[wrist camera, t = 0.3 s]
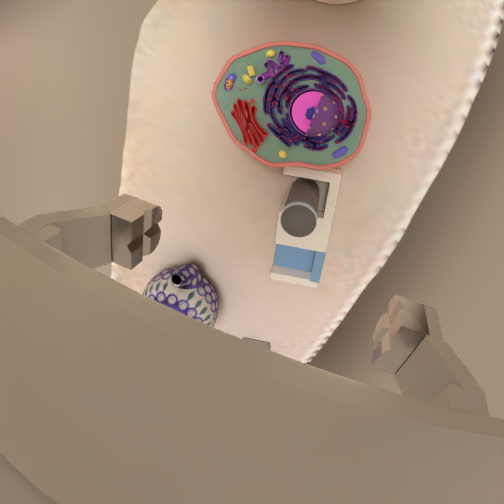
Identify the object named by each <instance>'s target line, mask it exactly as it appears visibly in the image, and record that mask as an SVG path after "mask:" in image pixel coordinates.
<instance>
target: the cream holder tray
mask: <svg viewBox="0 0 504 504" xmlns="http://www.w3.org/2000/svg"><path fill="white" fill-rule="evenodd" d="M283 174H284V175H290V176H296V177H302V178H308V179H313V180H319V181H324V182H329V187H328V193H327V198H326V203H325V208H324V212H321V211H317V225H316V228H315V230H314V231H313V232H312V233H311V234H309V235H308V236H305V237H294V236H291V235H289V234H288V233H287V232H285V230H284V229H283V228H282V226H281V222H280V217H281V214H282V211H283V209H284V207H285V205H283V204H281V206H280V209H279V214H278V222H277V230H276V237H275V243H276V244H277V245H276V252H275V260H274V264H273V267H272V270H271V275H270V279H272V280H277V281H282V282H287V283H292V284H298V285H303V286H308V287H313V288H317V286H318V283H319V279H320V275H321V271H322V267H323V262H324V258H325V253H326V249H327V244H328V240H329V236H330V231H331V226H332V222H333V217H334V213H335V208H336V203H337V198H338V193H339V188H340V183H341V178H342V170H339V169H333V168H331V169H323V170H320V169H312V168H307V167H302V166H289V167H284V173H283ZM315 251H316V253H315ZM314 255H315V257H314ZM313 259H314V262H313ZM312 264H313V266H312ZM311 269H312V271H311Z"/></svg>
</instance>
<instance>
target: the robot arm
mask: <svg viewBox="0 0 504 504" xmlns="http://www.w3.org/2000/svg"><path fill="white" fill-rule="evenodd" d="M316 1H319V2H323V3H329V4H346V3H351V2H355V1H358V0H316ZM161 220H162V209H161V207H160V206H157V205H154V204H152V203H149V202H147V201H144V200H141V199H139V198H137V197H134V196H131V195H127V194H123V195H121V196H119V197H117V198H115V199H113V200H112V201H110V202H108V203H106V204H104V205H102V206H100V207H99V208H97V209H96V208H94V207H92V208H85V209H76V210H68V211H61V212H53V213H46V214H40V215H35V216H34V217H32V218H30V219H28V220H26V221H25V222H23V223H21V224H19V225H16V224H14V223H13V222H11V221H10V220H8V219H6V218H5V217H3V216H2V215H0V504H504V419H502V418H496V417H491V416H489V413H488V407H487V401H486V396H485V392H484V391H483V389H482V388H481V387H480V385H479V384H478V382H477V381H476V380H475V378H474V377H473V375H472V374H471V373H470V371H469V370H468V369H467V367H466V366H465V365H464V364H463V362H462V361H461V360H460V358H459V357H458V356H457V354H456V353H455V352H454V351H453V349H452V348H451V347H450V345H449V344H448V343H447V342H445V341H443V337H442V332H441V327H440V323H439V319H438V314H437V310H436V309H435V308H433V307H430V306H427V305H424V304H421V303H418V302H415V301H412V300H410V299H407V298H404V297H401V296H398V295H395V296H394V297H393V298H392V300H391V301H390V303H389V312H387V313H385V314H383V315H382V316H381V318H380V320H379V321H378V323H377V326H376V329H375V332H374V337H373V342H374V344H375V345H376V348H375V349H374V350H373V356H372V367H374V368H377V369H381V370H383V371H386V372H389V373H391V374H394V375H395V378H396V381H397V383H398V385H399V387H400V389H401V392H402V394H403V395H401V394H397V393H394V392H390V391H387V390H383V389H380V388H377V387H374V386H370V385H367V384H364V383H361V382H358V381H354V380H351V379H348V378H345V377H342V376H339V375H336V374H333V373H330V372H327V371H324V370H321V369H319V368H316V367H313V366H310V365H307V364H305V363H302V362H299V361H296V360H294V359H291V358H288V357H286V356H283V355H280V354H278V353H275V352H272V351H270V350H267V349H265V348H262V347H260V346H257V345H255V344H252V343H250V342H247V341H245V340H242V339H240V338H237V337H235V336H233V335H230V334H228V333H225V332H223V331H221V330H218V329H216V328H214V327H211V326H209V325H207V324H205V323H202V322H200V321H198V320H196V319H193V318H191V317H189V316H187V315H184V314H182V313H180V312H178V311H176V310H174V309H171V308H169V307H167V306H165V305H163V304H161V303H159V302H157V301H155V300H152V299H150V298H148V297H146V296H144V295H142V294H140V293H138V292H136V291H134V290H132V289H130V288H128V287H126V286H124V285H122V284H120V283H118V282H116V281H114V280H113V279H110V278H108V277H107V276H105V275H103V274H101V273H99V272H97V271H95V270H94V269H93V268H96V267H99V266H102V265H105V264H108V263H111V262H114V263H116V264H119V265H121V266H123V267H125V268H128V269H130V270H132V269H133V268H134V267H135V266H136V265H138V264H139V263H140V262H141V261H142V257H143V256H144V255H149V254H151V253H152V252H153V251H154V250H155V248H156V247H157V245H158V243H159V240H160V235H161V230H160V228H159V225H158V223H159V222H160V221H161Z"/></svg>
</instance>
